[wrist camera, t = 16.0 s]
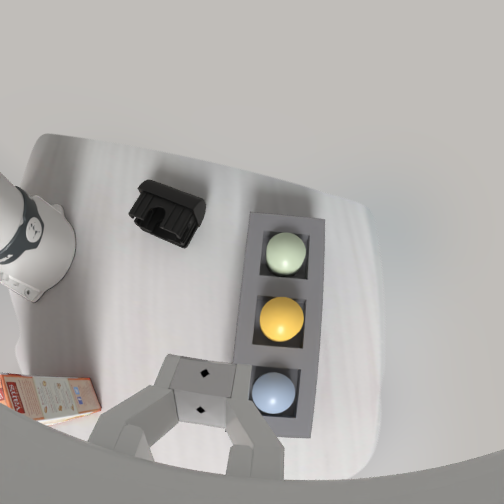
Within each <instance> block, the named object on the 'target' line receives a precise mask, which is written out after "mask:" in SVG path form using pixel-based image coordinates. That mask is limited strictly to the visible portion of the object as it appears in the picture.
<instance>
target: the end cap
mask: <svg viewBox="0 0 504 504" xmlns="http://www.w3.org/2000/svg"><path fill="white" fill-rule="evenodd" d="M138 190H139V192H140V193H141V194H140V196H139V197H138V199H137V201H136V202H135V204H134V205H133V207H132V209H131V210H130V212H129V216H130V217H131V218H134V217H136V219H135V220H134V222H135V224H136V225H137V226H139V227H140V228H141V229H142V230H143V231H145V232H147V233H150V234H152V235H154V236H156V237H159V238H161V239H163V240H166V241H168V242H170V243H172V244H175V245H177V246H179V247H181V248H187V247H188V245H189V243H190V241H191V239H192V237H193V236H194V234H195V232H196V230H197V228H198V227H200V225H201V223H202V220H203V218H204V214H205V209H206V204H205V201H204V200H203V199H201V198H199V197H196V196H193V195H191V194H188V193H185V192H183V191H180V190H177V189H175V188H172V187H169V186H166V185H164V184H161V183H158V182H155V181H153V180H146V181H144V182H143V183H142V184H141V185H140V186H139V187H138Z"/></svg>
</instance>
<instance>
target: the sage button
mask: <svg viewBox="0 0 504 504" xmlns="http://www.w3.org/2000/svg"><path fill="white" fill-rule="evenodd" d="M305 255H306V248H305V245H304V243H303V241H302V240H301V239H300V238H299V237H298V236H296V235H294V234H292V233H279V234H277V235H275V236H274V237H272V238H271V240H270V241H269V243H268V245H267V251H266V265H267V267H268V269H269V270H270V272H271V273H273V274H274V275H276V276H278V277H290V276H293V275H294V274H296V273H297V272H298V271H299V269H300V267H301V265H302V263H303V261H304V258H305Z"/></svg>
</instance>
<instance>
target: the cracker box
mask: <svg viewBox="0 0 504 504" xmlns="http://www.w3.org/2000/svg"><path fill="white" fill-rule="evenodd" d="M0 403H2V404H4V405H6V406H7V407H9V408H11V409H13V410H15V411H17V412H19V413H21V414H23V415H25V416H27V417H29V418H31V419H33V420H36V421H38V422H40V423H42V424H44V425H47V426H50V425H54V424H58V423H62V422H65V421H69V420H72V419H76V418H79V417H83V416H86V415H89V414H92V413H95V412H98V411H101V407H100V405H99V402H98V399H97V397H96V394H95V391H94V388H93V386H92V383H91V380H90V378H70V377H48V376H31V375H19V374H9V373H0Z"/></svg>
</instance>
